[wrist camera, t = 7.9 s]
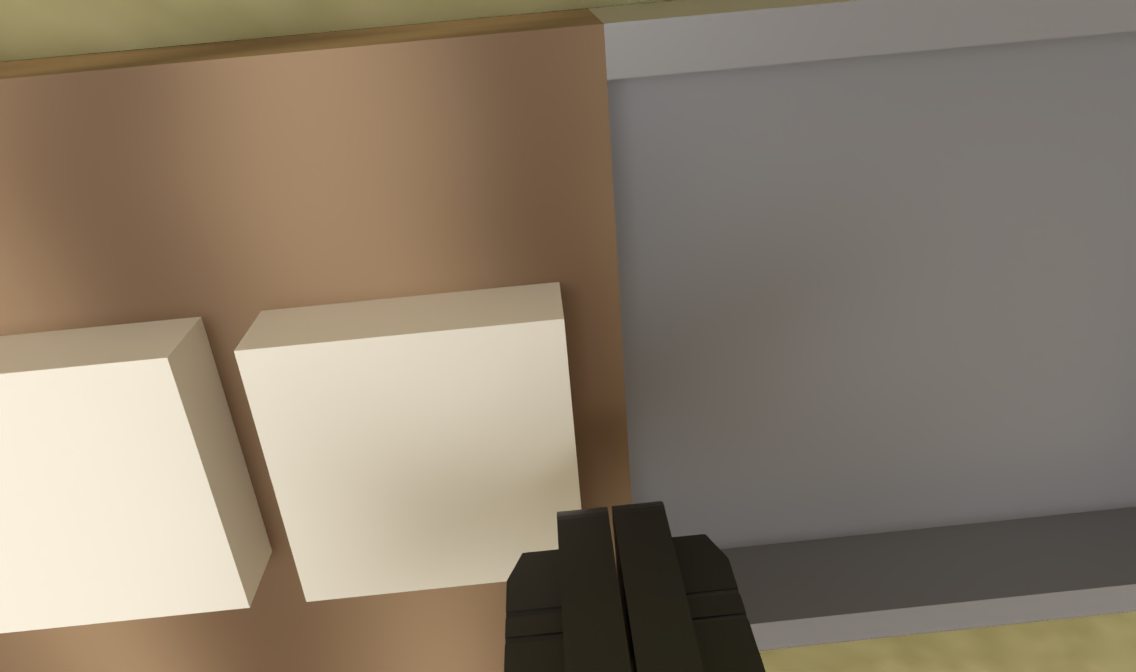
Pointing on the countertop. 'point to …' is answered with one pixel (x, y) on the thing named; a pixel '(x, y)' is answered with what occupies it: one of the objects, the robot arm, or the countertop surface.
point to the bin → (883, 303)
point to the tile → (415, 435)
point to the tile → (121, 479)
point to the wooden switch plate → (316, 263)
